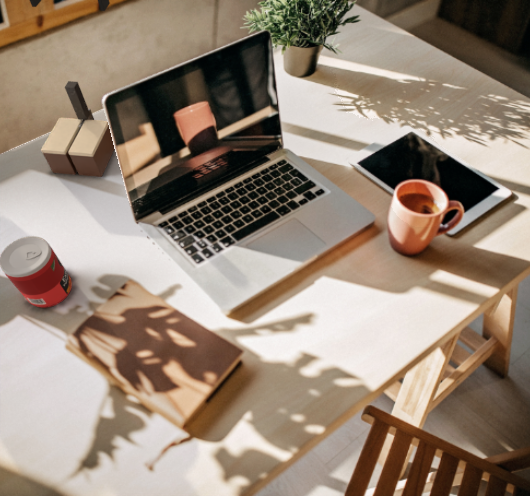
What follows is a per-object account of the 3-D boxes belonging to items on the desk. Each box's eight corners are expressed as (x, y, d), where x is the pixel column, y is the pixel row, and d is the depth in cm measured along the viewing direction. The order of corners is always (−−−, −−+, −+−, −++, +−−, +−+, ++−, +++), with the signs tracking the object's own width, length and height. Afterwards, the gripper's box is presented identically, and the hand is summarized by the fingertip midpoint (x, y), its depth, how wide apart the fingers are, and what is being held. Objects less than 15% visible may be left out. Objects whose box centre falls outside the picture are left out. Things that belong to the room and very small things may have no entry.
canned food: (80, 294, 87) (56, 258, 78) (35, 317, 84) (6, 283, 75) (64, 264, 91) (40, 227, 82) (21, 286, 88) (-8, 250, 79)
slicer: (93, 129, 111) (71, 75, 100) (102, 130, 111) (81, 75, 99) (84, 148, 108) (60, 93, 96) (93, 148, 107) (70, 94, 96)
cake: (70, 141, 110) (59, 117, 105) (117, 145, 109) (108, 120, 104) (53, 173, 104) (40, 149, 99) (102, 177, 103) (91, 153, 98)
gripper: (-66, -125, 74) (0, 12, 92) (89, -122, 71) (127, 19, 88) (-40, -143, 79) (18, -9, 96) (107, -140, 76) (140, -2, 93)
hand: (71, 5), depth 92 cm, fingers open, 13 cm apart
